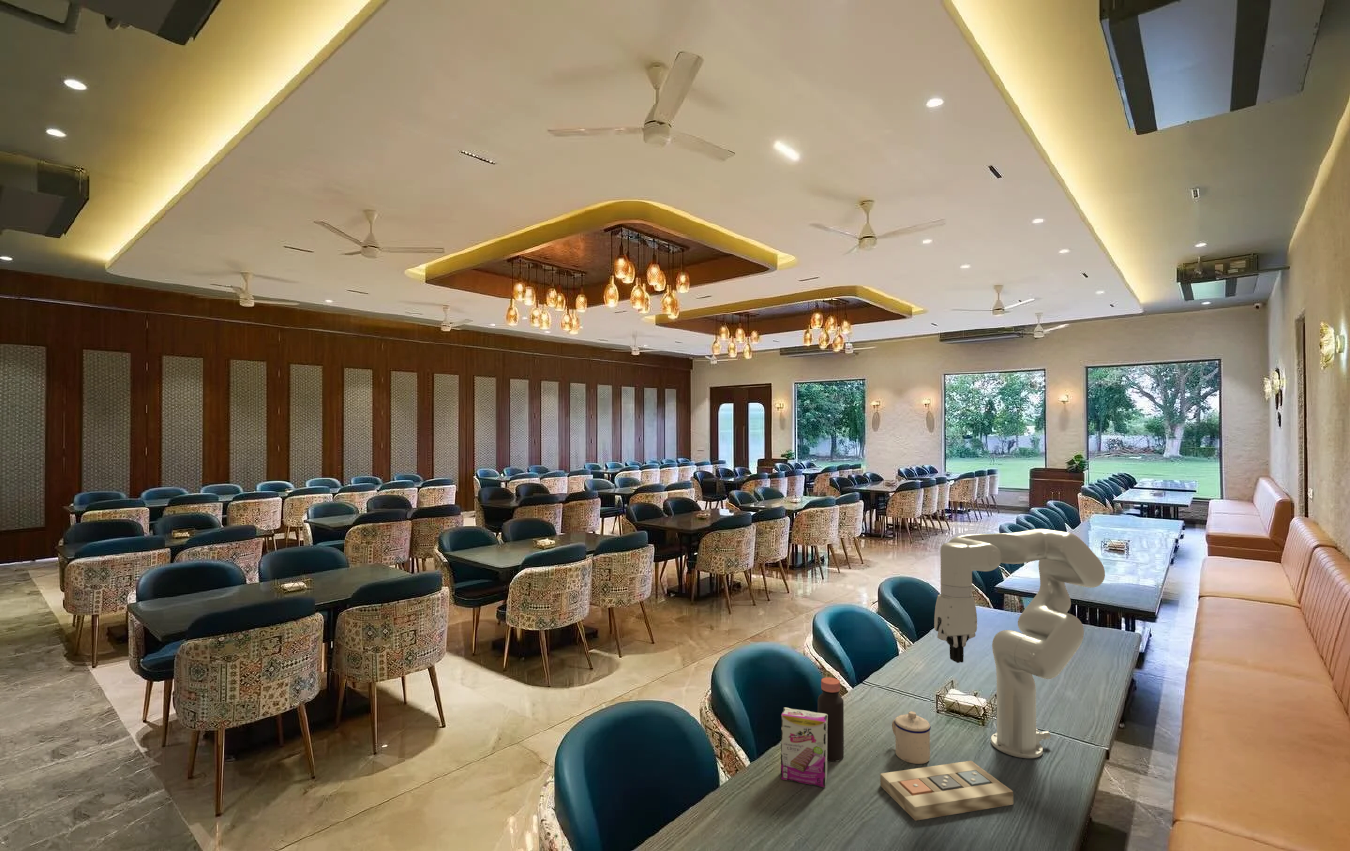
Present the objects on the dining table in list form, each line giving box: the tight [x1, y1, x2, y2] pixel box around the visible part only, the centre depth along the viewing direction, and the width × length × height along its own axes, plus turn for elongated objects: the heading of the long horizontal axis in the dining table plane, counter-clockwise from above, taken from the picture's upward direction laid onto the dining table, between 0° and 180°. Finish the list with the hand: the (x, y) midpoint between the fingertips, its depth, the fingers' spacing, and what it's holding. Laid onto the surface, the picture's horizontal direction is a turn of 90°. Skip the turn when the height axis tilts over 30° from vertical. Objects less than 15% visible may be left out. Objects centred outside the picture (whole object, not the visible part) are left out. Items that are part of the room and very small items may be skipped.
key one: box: [900, 779, 932, 796], centre depth 146 cm, size 5×5×3 cm
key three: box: [929, 775, 961, 791], centre depth 147 cm, size 5×5×3 cm
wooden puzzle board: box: [879, 760, 1014, 822], centre depth 147 cm, size 26×14×3 cm, turn 103°
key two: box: [958, 770, 990, 786], centre depth 149 cm, size 5×5×3 cm
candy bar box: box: [780, 707, 828, 788], centre depth 154 cm, size 11×5×16 cm, turn 71°
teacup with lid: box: [891, 711, 932, 765], centre depth 167 cm, size 12×9×12 cm
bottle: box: [817, 676, 845, 762], centre depth 166 cm, size 7×7×20 cm
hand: (956, 660), depth 161 cm, fingers closed
